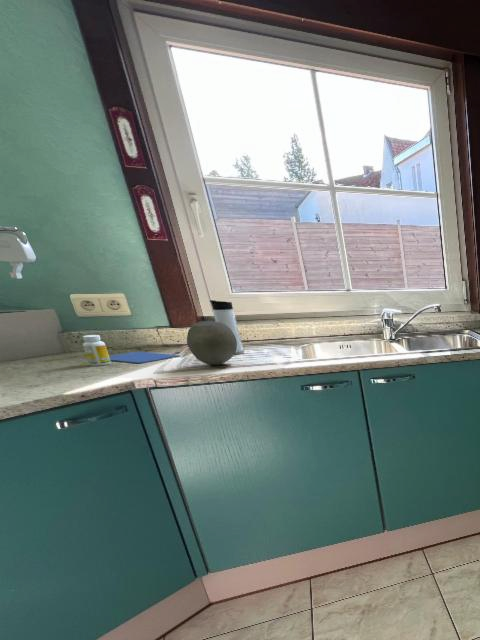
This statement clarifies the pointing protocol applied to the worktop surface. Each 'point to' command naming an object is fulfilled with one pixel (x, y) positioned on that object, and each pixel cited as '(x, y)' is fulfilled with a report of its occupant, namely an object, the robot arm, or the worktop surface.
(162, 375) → the worktop surface
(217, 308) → the travel mug
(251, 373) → the worktop surface
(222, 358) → the cantaloupe
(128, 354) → the blue cloth
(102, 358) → the supplement bottle
